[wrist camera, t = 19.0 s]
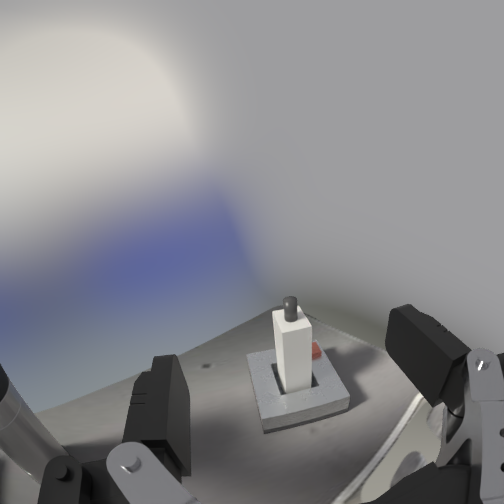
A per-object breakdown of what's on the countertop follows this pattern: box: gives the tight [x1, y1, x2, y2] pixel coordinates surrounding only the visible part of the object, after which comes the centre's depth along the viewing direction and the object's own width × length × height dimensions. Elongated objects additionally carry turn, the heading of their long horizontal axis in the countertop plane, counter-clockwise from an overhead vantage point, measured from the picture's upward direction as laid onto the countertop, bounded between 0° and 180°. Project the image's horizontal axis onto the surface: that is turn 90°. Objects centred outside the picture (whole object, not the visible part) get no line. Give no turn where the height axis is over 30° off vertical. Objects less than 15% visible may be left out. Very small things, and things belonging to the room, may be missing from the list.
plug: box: [272, 296, 312, 395], centre depth 39 cm, size 4×6×17 cm
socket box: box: [247, 339, 350, 434], centre depth 42 cm, size 13×15×5 cm
